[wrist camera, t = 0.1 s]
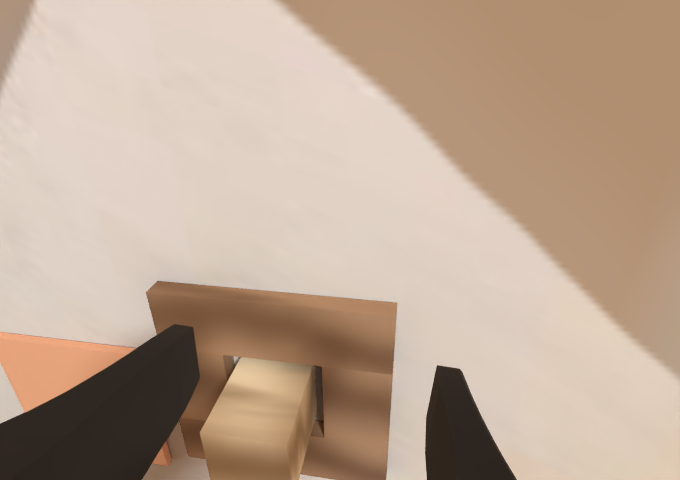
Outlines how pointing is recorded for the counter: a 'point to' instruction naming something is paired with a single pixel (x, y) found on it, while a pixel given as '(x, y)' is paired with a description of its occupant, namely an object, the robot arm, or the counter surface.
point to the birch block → (261, 422)
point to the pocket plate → (294, 347)
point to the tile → (56, 369)
